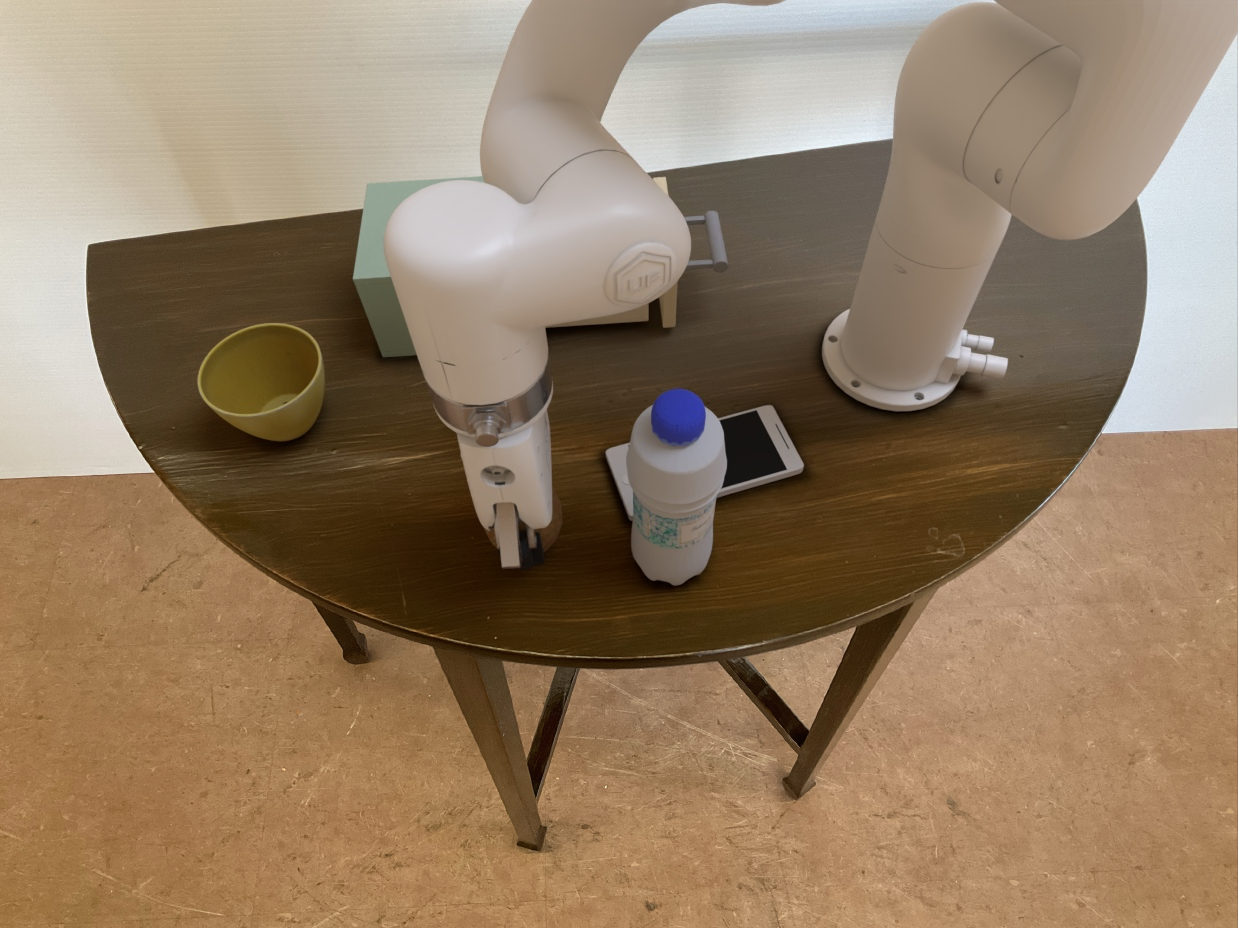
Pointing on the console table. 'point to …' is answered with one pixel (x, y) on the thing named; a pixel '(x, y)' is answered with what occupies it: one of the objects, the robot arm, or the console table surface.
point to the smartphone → (734, 454)
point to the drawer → (670, 297)
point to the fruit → (547, 533)
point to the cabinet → (384, 264)
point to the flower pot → (265, 380)
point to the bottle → (675, 485)
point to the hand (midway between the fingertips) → (523, 522)
